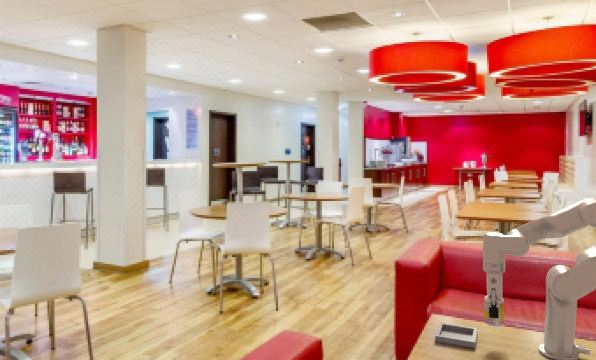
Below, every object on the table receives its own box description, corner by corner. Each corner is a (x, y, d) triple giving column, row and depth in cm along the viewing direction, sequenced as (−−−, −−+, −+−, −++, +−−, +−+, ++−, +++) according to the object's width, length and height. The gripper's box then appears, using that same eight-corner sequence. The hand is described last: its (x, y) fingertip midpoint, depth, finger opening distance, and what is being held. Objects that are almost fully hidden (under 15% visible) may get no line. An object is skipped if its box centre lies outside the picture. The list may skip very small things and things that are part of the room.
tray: (477, 334, 187) (477, 328, 187) (474, 348, 175) (475, 342, 174) (439, 328, 193) (440, 322, 193) (435, 342, 180) (435, 335, 180)
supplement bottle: (500, 320, 180) (500, 287, 179) (506, 327, 174) (506, 292, 173) (482, 320, 181) (482, 287, 180) (487, 327, 175) (487, 292, 174)
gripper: (505, 273, 166) (505, 324, 168) (505, 261, 182) (505, 307, 184) (481, 272, 169) (482, 321, 171) (484, 260, 185) (484, 305, 187)
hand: (494, 313), depth 177 cm, fingers closed on supplement bottle, 6 cm apart
